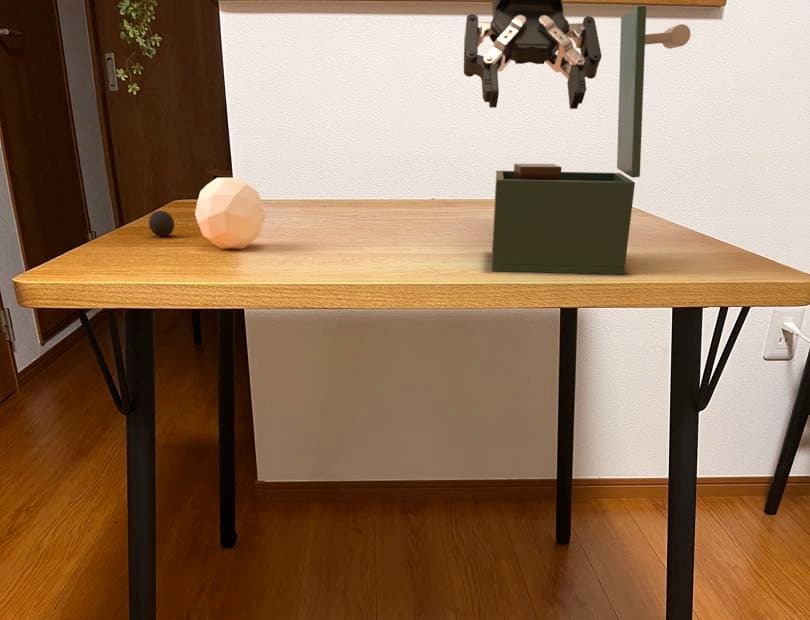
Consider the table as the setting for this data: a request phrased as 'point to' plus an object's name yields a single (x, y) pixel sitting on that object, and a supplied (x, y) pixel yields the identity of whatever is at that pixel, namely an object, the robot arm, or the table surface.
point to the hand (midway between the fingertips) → (535, 102)
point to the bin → (562, 223)
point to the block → (537, 172)
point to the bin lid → (637, 82)
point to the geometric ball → (230, 213)
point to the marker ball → (161, 223)
